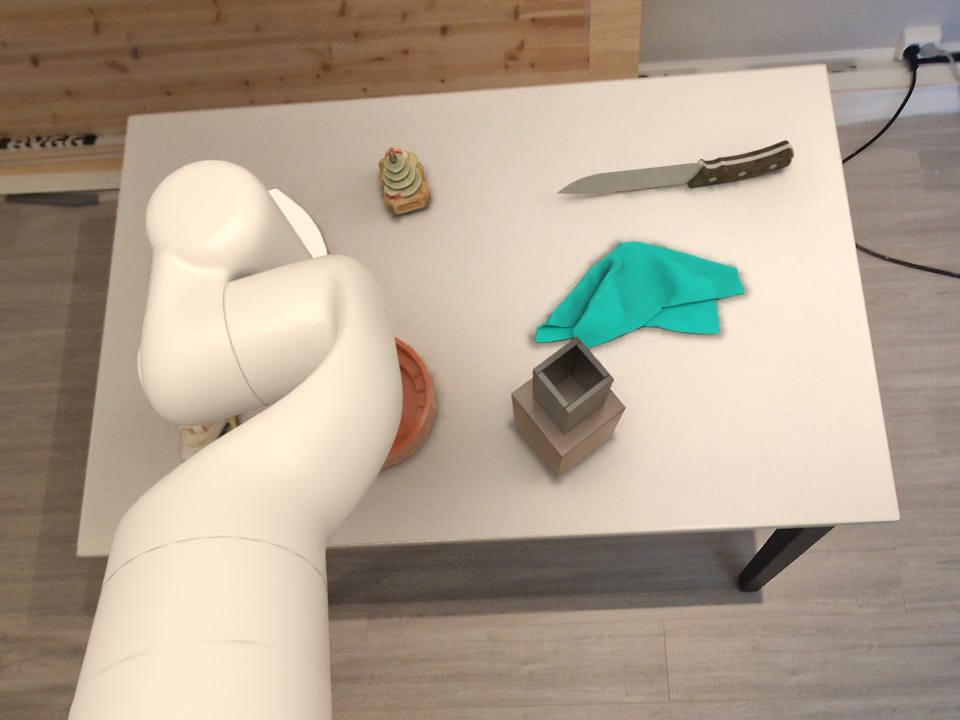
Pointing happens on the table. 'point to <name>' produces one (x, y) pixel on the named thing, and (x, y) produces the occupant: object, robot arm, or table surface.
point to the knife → (688, 172)
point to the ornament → (403, 181)
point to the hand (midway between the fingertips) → (337, 364)
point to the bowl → (412, 405)
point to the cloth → (642, 295)
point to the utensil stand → (567, 407)
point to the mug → (201, 436)
